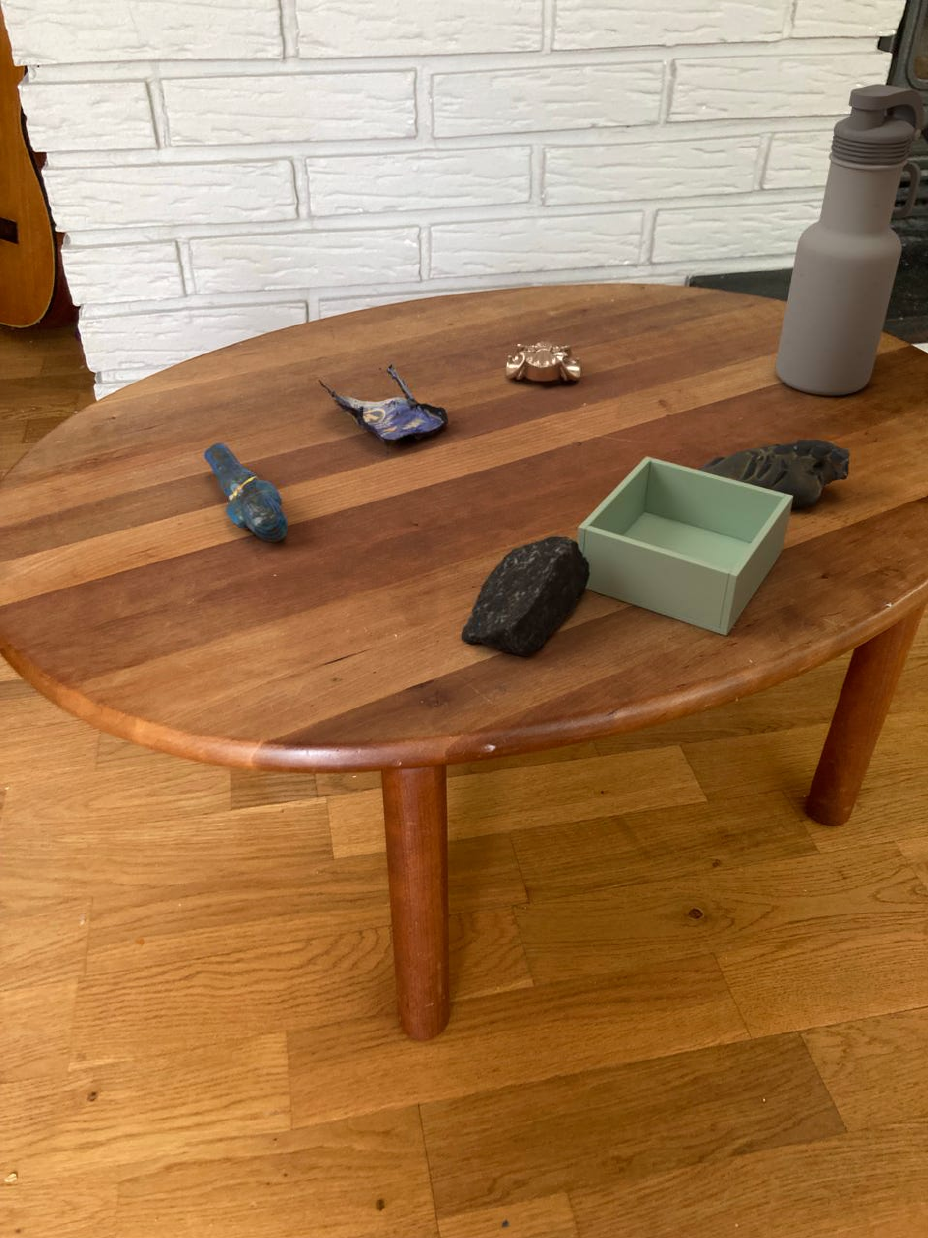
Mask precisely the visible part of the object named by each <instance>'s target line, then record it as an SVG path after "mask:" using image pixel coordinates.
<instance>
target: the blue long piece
mask: <svg viewBox="0 0 928 1238" xmlns="http://www.w3.org/2000/svg"><path fill="white" fill-rule="evenodd" d="M203 458H204V460H205V461H206V463H208V465H209V467H210V468H211V470H212V472H213V474H214V475H215V477H216V479H217V481H218V484H219V486H220V488H221V490H222V491H223V494H224V495H225V497H226V499H227V500H228V501H229V503H228V505H227V507H225V514H226V516H227V517H228V519H229V520H230V521H231V522H232V523H233V524H234V525H235V526H237V527H238V528H240V529H242V530H248V529H249V530H250V531H251V532H253V534H255V535H256V536H257V537H258V538H260V539H261V540H263V541H265V542H267V543H277V542H279V541H281V540H283V539H284V538H285V537H286V536H287V533H288V530H289V521H288V517H287V515H286V513H285V512H284V509H283V508H282V503H283V500H282V497H281V495H280V492H279V491H278V490H277V488H276V487H275V485H274V483H272V482H270V481H269V480H266V479H265V480H263V479H260V478H259V476H258V475H257V474H256V473H255V472H254V471H252V470H250V469H249V468H248V467H246V466H244V465H243V464H241V462H240V461H239V460H238V458H237V457H236V455H235V454H234V452H233V451H232V450H231V449H230V448H229V447H228V446H227V444H225V443H223V442H216V443H213V444H212V445H210V446H209V447H208V448H206V449H205V450H204V453H203Z"/></svg>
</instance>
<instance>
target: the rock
mask: <svg viewBox="0 0 928 1238" xmlns="http://www.w3.org/2000/svg"><path fill="white" fill-rule="evenodd" d="M589 576H590V573H589V563H588V561H587V560H586V558H585V557H582V552H581V551H580V550H579V547H578V540H577V539H574V538H572V537H570V536H566V535H565V536H557V535H551V536H549V537H545V538H544V539H540V540H539V541H535V542H531V543H529V544H524V545H521V546H519V547H516V548H515V547H514V548H513V549H512V550H511V551H510V552H509V553H508V554H506V555H505V556H503V558H502V560H501V561H500V562H499V563H498V564H497V565H496V566H495V567H494V569H493V570H492V572H491V573H490V574H489V575H488V577H487V579H486V580H485V581H484V582H483V585H482V586H481V587H480V592H479V594H478V595H477V598H476V600H475V601H474V602H475V603H474V605H473V607H472V609H471V614H470V615H469V618H468V619H467V622H466V623H465V625H464V626H463V627H462V631H461V639H462V640H463V642H465V643H466V644H470V645H474V644H478V643H481V644H482V645H483V646H485V647H489V648H494V649H497V650H499V651H502V652H508V653H510V654H515V655H516V656H523V657H528V656H529V655H531V654H532V653H534V652H535V651H536V650H537V649H539V648H540V647H541V646H543V645H544V644H545V643H546V639H547V638H548V636H549V635H551V634H552V633H553V632H554V631H555V630H556V628H557V627H558V626H560V624H561V622H562V621H563V620H564V618H565V616H566V615H569V614H571V613H572V611H573V610H574V608H575V605H576V602H577V601H578V600H579V599H581V598H582V597H583V596H584V595H585V591H586V588H585V587H586V586H587V582H588V579H589Z"/></svg>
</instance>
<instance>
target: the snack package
mask: <svg viewBox="0 0 928 1238" xmlns="http://www.w3.org/2000/svg"><path fill="white" fill-rule="evenodd" d="M381 370H382V368H381V367H380V368H378V371H381ZM386 372H387V374H388V376H391V379H392V380H395V381H396V383H397V385H398V387H399V388H400V390H401V392H402V393H403V395H404V397H399V396H397V397H392V398H386V399H385V400H380V401H369V400H367V401H364V400H359V399H356V398H353V397H351V396H349V395H343V394H341V395H340V396H339V395H337V394H336V392H335V391H331V389H330V388H329V387H328V384H324V383H323V382H322V381H321V380H320V379H318V382H319V385H320V386H321V387H322V388H324V390H326V391H327V393H328V394H329V395H330V396H331V398H332V401H333V403H335V405H336V406H337V407H339V408H340V409H341V411H342V412H343V413H345V414H346V415H347V416H348V417H349V418H350V419H351V420H353V421H354V422H355V424H356V425H357V426H359V428H361V429H363V430H365V431H368V432H370V433H372V434H373V435H375V436H376V437H377V438H378V439H379V440H380V441H381V442H382V443H383V444H384V445H385V446H386V447H387V448H389V447H390V446H392V445H393V444H394V443H396V442H397V441H399V440H400V439H401V440H402V439H403V438H404V437H408V436H412V437H415V440H416V442H418V441H420V440H421V439H424V438H425V437H426V438H427V437H428V436H431V437H432V436H433V435H434V434H436V433H437V432H438V431H439V430H441V428H443V427H444V426H447V425H448V424H449V416H448V413H447V411H446V409H445V408H444V407H442V406H439V407H436V406H433V405H431V404H429V403H419V401H417V400H416V398H415V397H414V396H413V395H412V394H411V392H410V391H409V389H408V383H407V382H406V380H405V379H401V378H400V375H399V372H398V370H397V368H395V367H394V366H393V364H392V363H391V364H390V365H389V366H388V367H386ZM363 375H366V373H365V372H364V373H363ZM352 393H353V394H354V395H357V392H356V391H355V390H352ZM411 444H412V442H410V445H411ZM406 446H409V444H408V443H407V444H406ZM389 453H390V451H387V452H386V454H389Z"/></svg>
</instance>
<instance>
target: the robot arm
mask: <svg viewBox="0 0 928 1238" xmlns="http://www.w3.org/2000/svg"><path fill="white" fill-rule="evenodd" d="M920 136H921V137H922V138H923V140H924V141H925V143H926V144H927V145H928V121H926V122H925V124H922V129H921V134H920Z"/></svg>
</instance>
